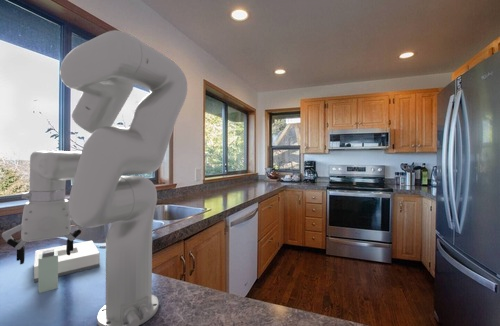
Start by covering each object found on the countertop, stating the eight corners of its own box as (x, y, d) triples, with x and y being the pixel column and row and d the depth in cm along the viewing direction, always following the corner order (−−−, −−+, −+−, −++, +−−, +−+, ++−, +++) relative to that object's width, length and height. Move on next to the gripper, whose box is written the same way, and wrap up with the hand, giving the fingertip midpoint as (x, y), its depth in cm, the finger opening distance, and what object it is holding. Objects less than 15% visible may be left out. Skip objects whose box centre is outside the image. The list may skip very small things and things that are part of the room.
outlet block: (99, 266, 78) (99, 252, 78) (34, 282, 68) (34, 266, 68) (92, 252, 90) (92, 240, 90) (35, 263, 80) (35, 250, 80)
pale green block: (57, 288, 65) (57, 251, 65) (38, 293, 62) (38, 255, 62) (57, 282, 68) (57, 247, 68) (38, 287, 65) (38, 251, 65)
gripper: (0, 201, 56) (-1, 272, 57) (87, 195, 68) (86, 255, 68) (4, 196, 62) (3, 261, 62) (84, 192, 73) (82, 246, 74)
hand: (46, 257), depth 65 cm, fingers open, 9 cm apart
